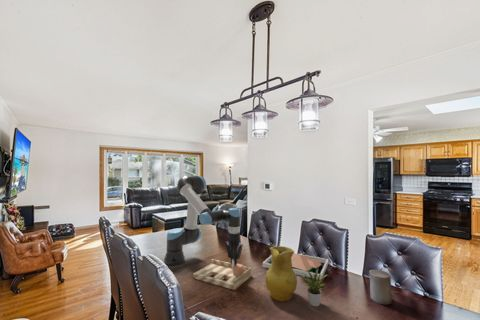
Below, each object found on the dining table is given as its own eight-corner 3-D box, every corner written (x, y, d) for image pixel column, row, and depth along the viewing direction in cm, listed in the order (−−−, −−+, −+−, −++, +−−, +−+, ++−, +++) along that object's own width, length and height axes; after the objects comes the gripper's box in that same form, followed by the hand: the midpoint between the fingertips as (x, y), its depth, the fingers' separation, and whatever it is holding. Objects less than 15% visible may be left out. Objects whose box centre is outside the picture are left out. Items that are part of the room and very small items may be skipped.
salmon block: (233, 274, 146) (233, 266, 147) (236, 271, 151) (237, 263, 151) (239, 276, 144) (239, 267, 144) (243, 273, 148) (243, 265, 149)
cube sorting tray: (193, 277, 147) (193, 269, 147) (212, 266, 165) (212, 259, 165) (235, 290, 132) (235, 281, 132) (251, 275, 150) (251, 267, 150)
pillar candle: (393, 299, 123) (391, 270, 123) (389, 307, 115) (388, 276, 116) (372, 293, 129) (371, 265, 130) (368, 300, 122) (367, 271, 123)
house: (311, 277, 147) (310, 264, 147) (268, 263, 169) (268, 252, 169) (325, 267, 164) (325, 255, 164) (285, 255, 186) (285, 245, 186)
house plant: (324, 295, 126) (324, 264, 127) (336, 310, 113) (335, 276, 113) (299, 295, 126) (298, 265, 127) (307, 311, 112) (306, 276, 113)
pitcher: (258, 294, 127) (260, 247, 128) (278, 284, 140) (280, 242, 141) (284, 308, 114) (286, 257, 116) (303, 296, 127) (305, 250, 129)
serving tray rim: (262, 267, 163) (262, 262, 163) (277, 253, 190) (277, 250, 190) (321, 280, 144) (321, 275, 144) (328, 263, 170) (328, 259, 170)
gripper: (222, 232, 150) (222, 269, 149) (239, 235, 144) (239, 273, 142) (228, 229, 156) (228, 265, 155) (245, 232, 150) (245, 269, 149)
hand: (233, 269), depth 149 cm, fingers closed
